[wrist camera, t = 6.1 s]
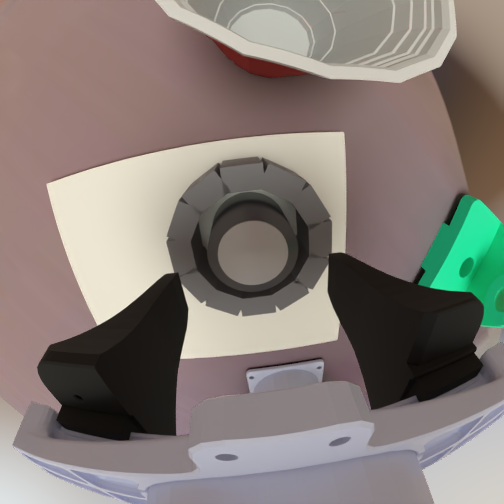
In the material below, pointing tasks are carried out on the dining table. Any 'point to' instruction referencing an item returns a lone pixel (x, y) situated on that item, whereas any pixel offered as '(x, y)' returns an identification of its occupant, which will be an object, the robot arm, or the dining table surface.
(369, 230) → the dining table surface
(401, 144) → the dining table surface
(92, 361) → the robot arm
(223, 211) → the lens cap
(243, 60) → the plastic cup
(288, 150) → the board
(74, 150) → the dining table surface
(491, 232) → the camera mount
